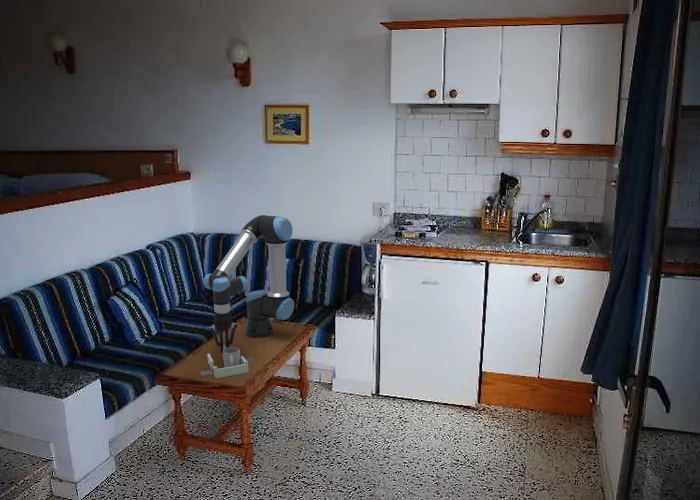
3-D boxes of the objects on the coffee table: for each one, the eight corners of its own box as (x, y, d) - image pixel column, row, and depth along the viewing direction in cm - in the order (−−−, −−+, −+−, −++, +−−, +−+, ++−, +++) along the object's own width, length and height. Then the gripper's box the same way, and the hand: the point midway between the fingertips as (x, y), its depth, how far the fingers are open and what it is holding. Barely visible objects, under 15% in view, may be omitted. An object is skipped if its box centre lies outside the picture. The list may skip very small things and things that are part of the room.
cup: (239, 364, 280) (238, 346, 278) (240, 373, 270) (239, 354, 268) (224, 365, 278) (223, 347, 276) (224, 374, 269) (223, 356, 267)
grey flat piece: (249, 354, 291) (249, 344, 290) (260, 370, 273) (259, 359, 272) (196, 363, 281) (195, 353, 280) (203, 380, 263) (202, 370, 262)
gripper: (234, 307, 279) (236, 353, 284) (206, 310, 274) (209, 358, 279) (238, 312, 272) (240, 359, 278) (209, 315, 267) (212, 364, 273)
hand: (224, 358), depth 278 cm, fingers closed
